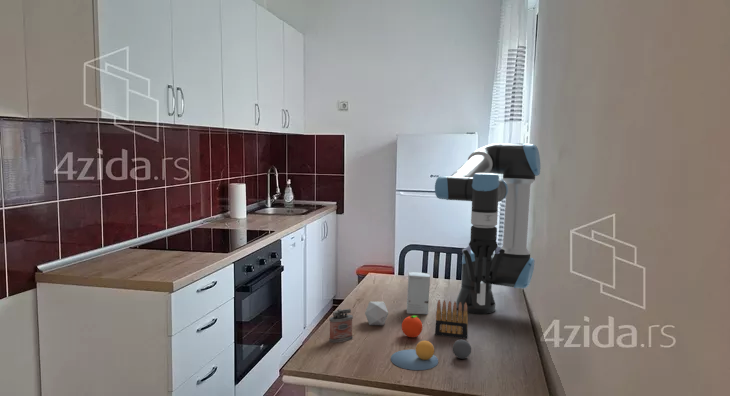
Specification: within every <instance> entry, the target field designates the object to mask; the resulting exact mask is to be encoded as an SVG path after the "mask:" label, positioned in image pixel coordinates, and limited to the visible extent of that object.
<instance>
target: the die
mask: <svg viewBox="0 0 730 396" xmlns="http://www.w3.org/2000/svg"><path fill="white" fill-rule="evenodd" d="M364 312H365V313H364V315H365V317H366V320H367V322H368V326H385V322H386V320H387V318H388V315H389V311H388V309H387V306H386V303H385V302H384V301H369V302H368V305H367V307H366V310H365V311H364Z"/></svg>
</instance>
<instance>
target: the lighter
mask: <svg viewBox="0 0 730 396" xmlns="http://www.w3.org/2000/svg"><path fill="white" fill-rule="evenodd" d="M332 315H333V316H331V317H329V338H328V339H329V340H328V341H329V343H341V342H346V341H350V340H353V319H354V315H353V314H351V308H344V309H341V308H339V309H336V310H334V311H332Z"/></svg>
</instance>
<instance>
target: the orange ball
mask: <svg viewBox="0 0 730 396" xmlns="http://www.w3.org/2000/svg"><path fill="white" fill-rule="evenodd" d="M415 350H416V354H417V356H418V357H419V358H420V359H423V360H428V359H430V358H431V357H432V356H433V355H435V354H434V353H435V348H434V344H432V343H431V342H430V341H429V340H420V341H419V342H417V344H416V346H415Z"/></svg>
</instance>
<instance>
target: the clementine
mask: <svg viewBox="0 0 730 396" xmlns="http://www.w3.org/2000/svg"><path fill="white" fill-rule="evenodd" d="M420 318H421V317H420V316H418V315H409V316H407V317H405V318H404V319H403V320H402V323H401V331H402V333H403V334H404V335H405V336H406V337H408V338H416V337H418V336H420V334H421V333H422V331H423V322H422V320H421V319H420Z"/></svg>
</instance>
